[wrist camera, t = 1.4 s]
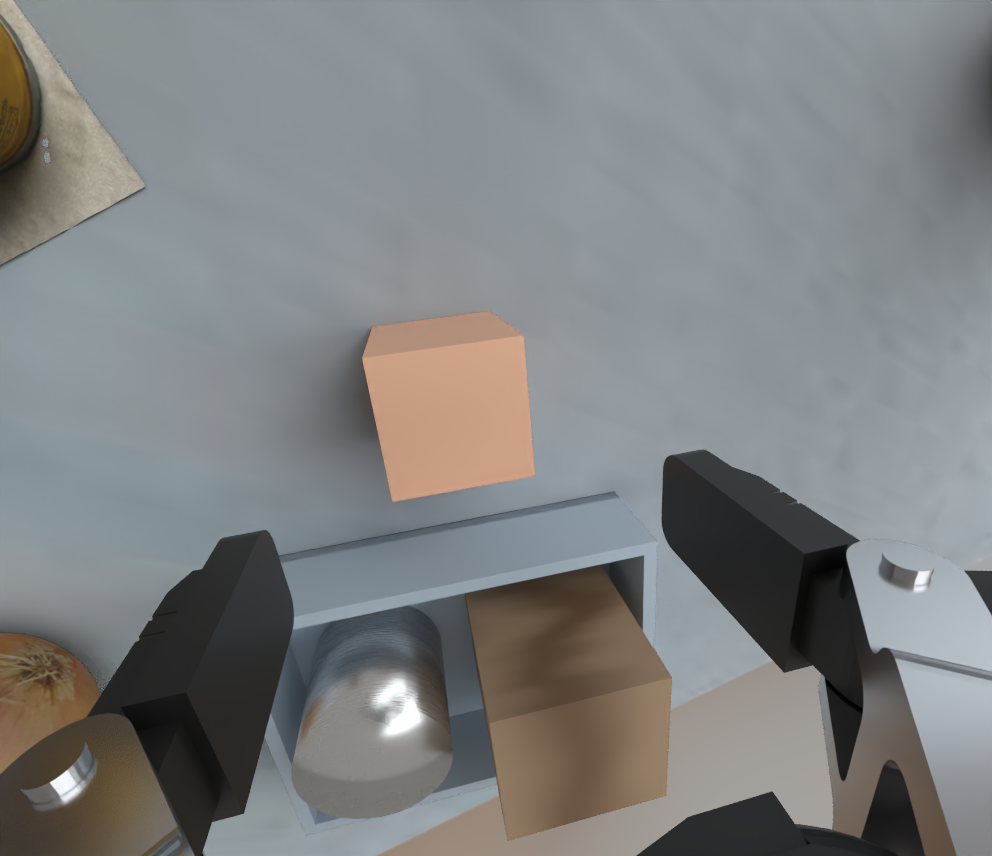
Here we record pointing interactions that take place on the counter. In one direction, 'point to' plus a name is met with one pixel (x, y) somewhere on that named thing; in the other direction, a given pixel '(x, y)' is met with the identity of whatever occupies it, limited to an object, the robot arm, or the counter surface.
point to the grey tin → (374, 716)
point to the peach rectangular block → (450, 403)
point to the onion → (39, 692)
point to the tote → (450, 608)
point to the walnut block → (569, 699)
